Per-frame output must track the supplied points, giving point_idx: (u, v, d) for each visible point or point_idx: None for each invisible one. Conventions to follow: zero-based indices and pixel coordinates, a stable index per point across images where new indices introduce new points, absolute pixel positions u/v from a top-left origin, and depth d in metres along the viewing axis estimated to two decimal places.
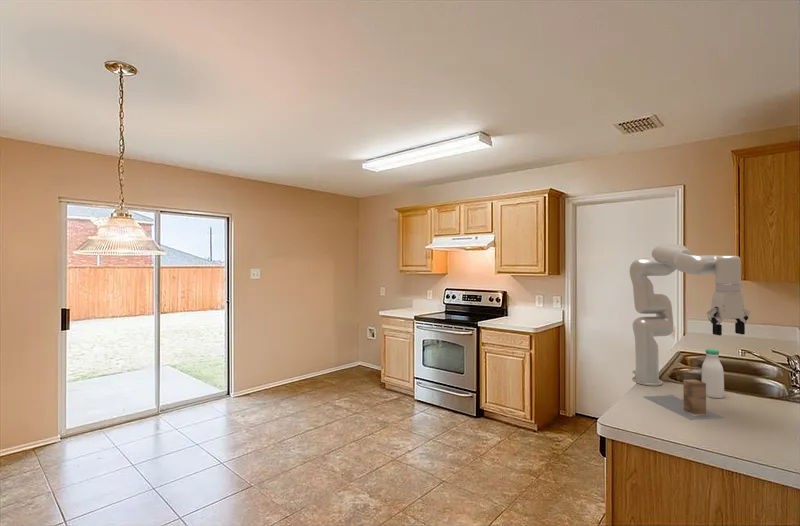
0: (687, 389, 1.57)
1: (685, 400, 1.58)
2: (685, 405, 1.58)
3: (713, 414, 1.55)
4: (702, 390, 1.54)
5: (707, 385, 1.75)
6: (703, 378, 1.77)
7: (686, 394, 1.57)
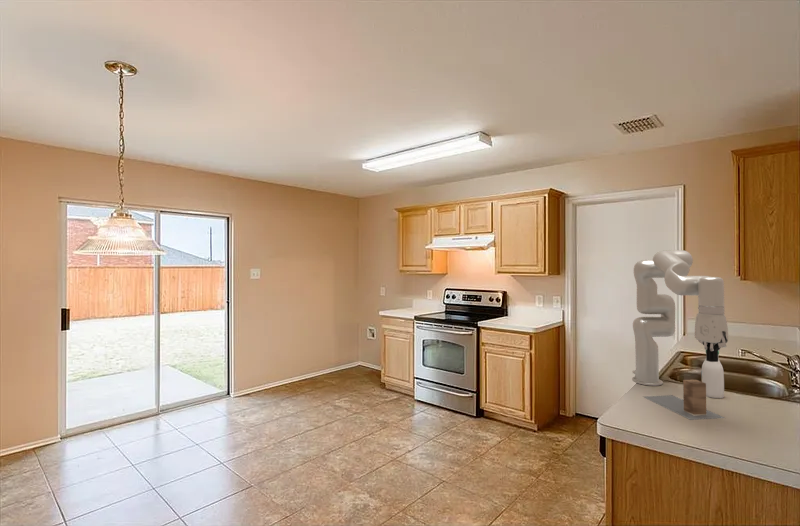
0: (687, 389, 1.57)
1: (685, 400, 1.58)
2: (685, 405, 1.58)
3: (713, 414, 1.55)
4: (702, 390, 1.54)
5: (707, 385, 1.75)
6: (703, 378, 1.77)
7: (686, 394, 1.57)
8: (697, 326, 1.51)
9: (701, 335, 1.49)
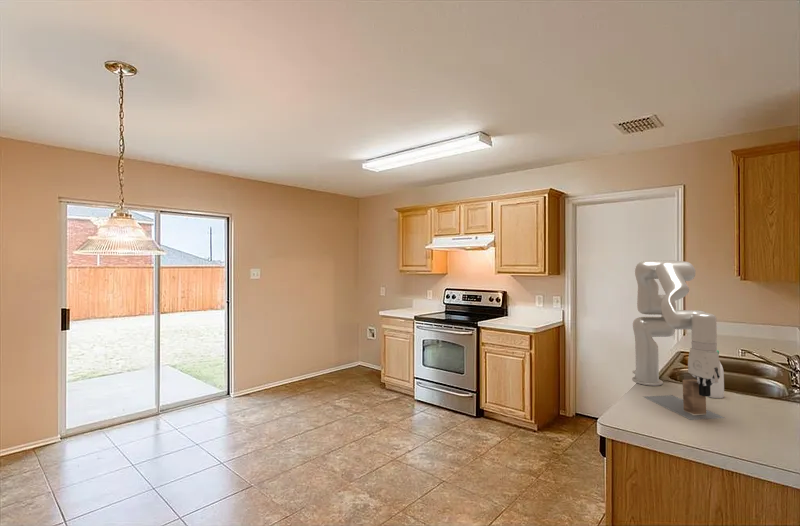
0: (686, 389, 1.57)
1: (685, 400, 1.58)
2: (685, 405, 1.58)
3: (713, 414, 1.55)
4: None
5: None
6: None
7: (686, 394, 1.57)
8: (690, 360, 1.55)
9: (694, 370, 1.53)
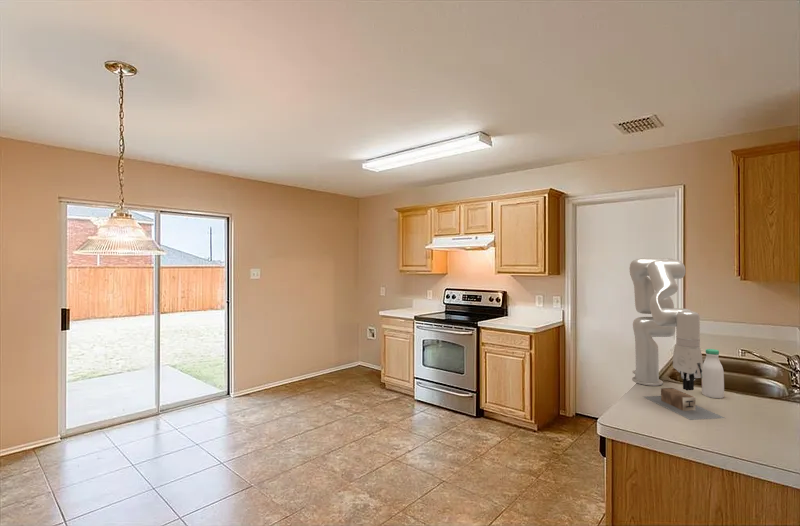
0: (666, 398, 1.68)
1: (675, 404, 1.63)
2: (678, 406, 1.61)
3: (713, 414, 1.55)
4: (673, 390, 1.68)
5: (707, 385, 1.75)
6: (703, 378, 1.77)
7: (670, 401, 1.65)
8: (675, 356, 1.62)
9: (678, 365, 1.60)
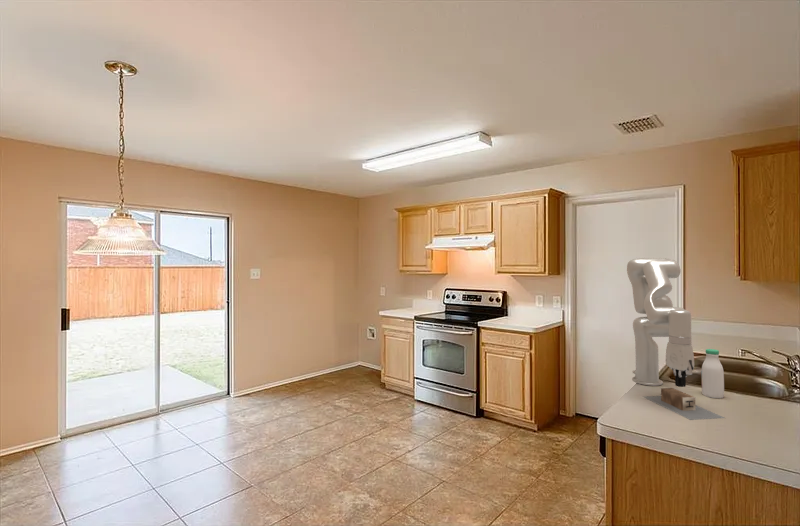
0: (666, 398, 1.68)
1: (675, 404, 1.63)
2: (678, 406, 1.61)
3: (713, 414, 1.55)
4: (673, 390, 1.68)
5: (707, 385, 1.75)
6: (703, 378, 1.77)
7: (670, 401, 1.65)
8: (667, 354, 1.66)
9: (671, 362, 1.64)
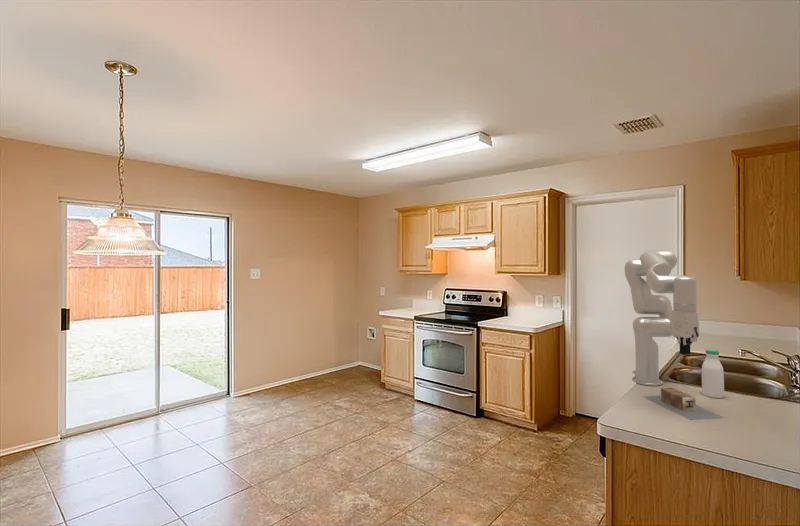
0: (666, 398, 1.68)
1: (675, 404, 1.63)
2: (678, 406, 1.61)
3: (713, 414, 1.55)
4: (673, 390, 1.68)
5: (707, 385, 1.75)
6: (703, 378, 1.77)
7: (670, 401, 1.65)
8: (672, 322, 1.64)
9: (675, 330, 1.62)
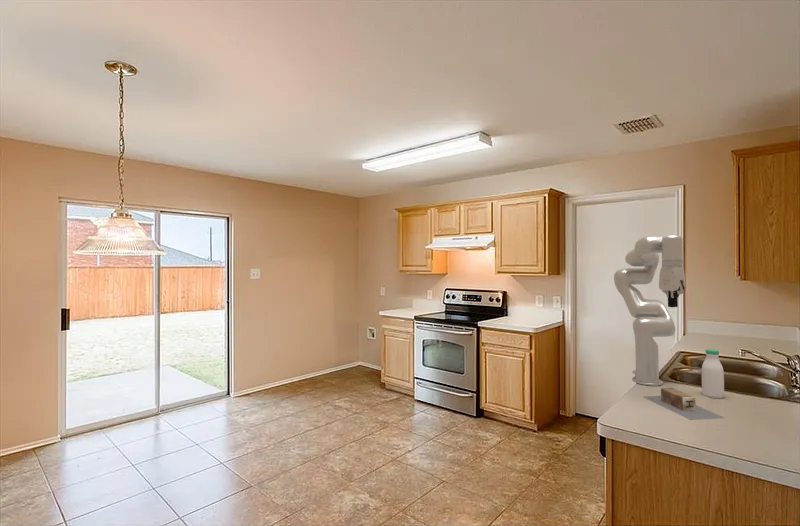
0: (666, 398, 1.68)
1: (675, 404, 1.63)
2: (678, 406, 1.61)
3: (713, 414, 1.55)
4: (673, 390, 1.68)
5: (707, 385, 1.75)
6: (703, 378, 1.77)
7: (670, 401, 1.65)
8: (661, 278, 1.78)
9: (664, 285, 1.76)
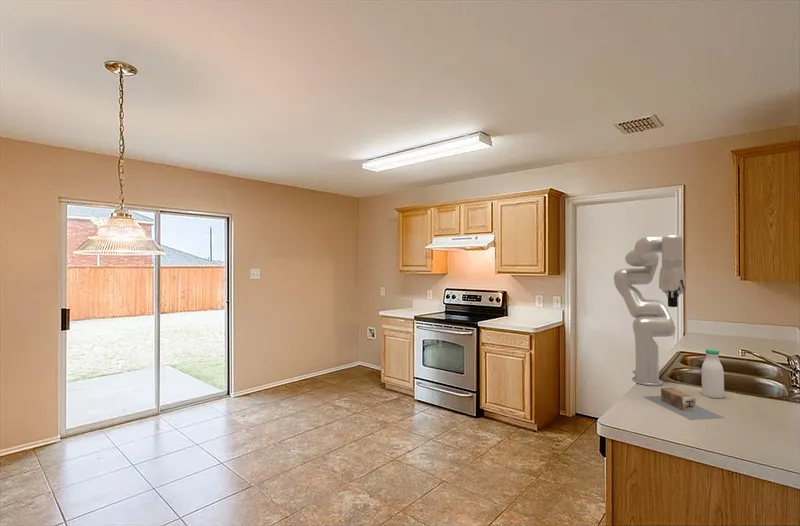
0: (666, 398, 1.68)
1: (675, 404, 1.63)
2: (678, 406, 1.61)
3: (713, 414, 1.55)
4: (673, 390, 1.68)
5: (707, 385, 1.75)
6: (703, 378, 1.77)
7: (670, 401, 1.65)
8: (661, 278, 1.78)
9: (664, 285, 1.76)
